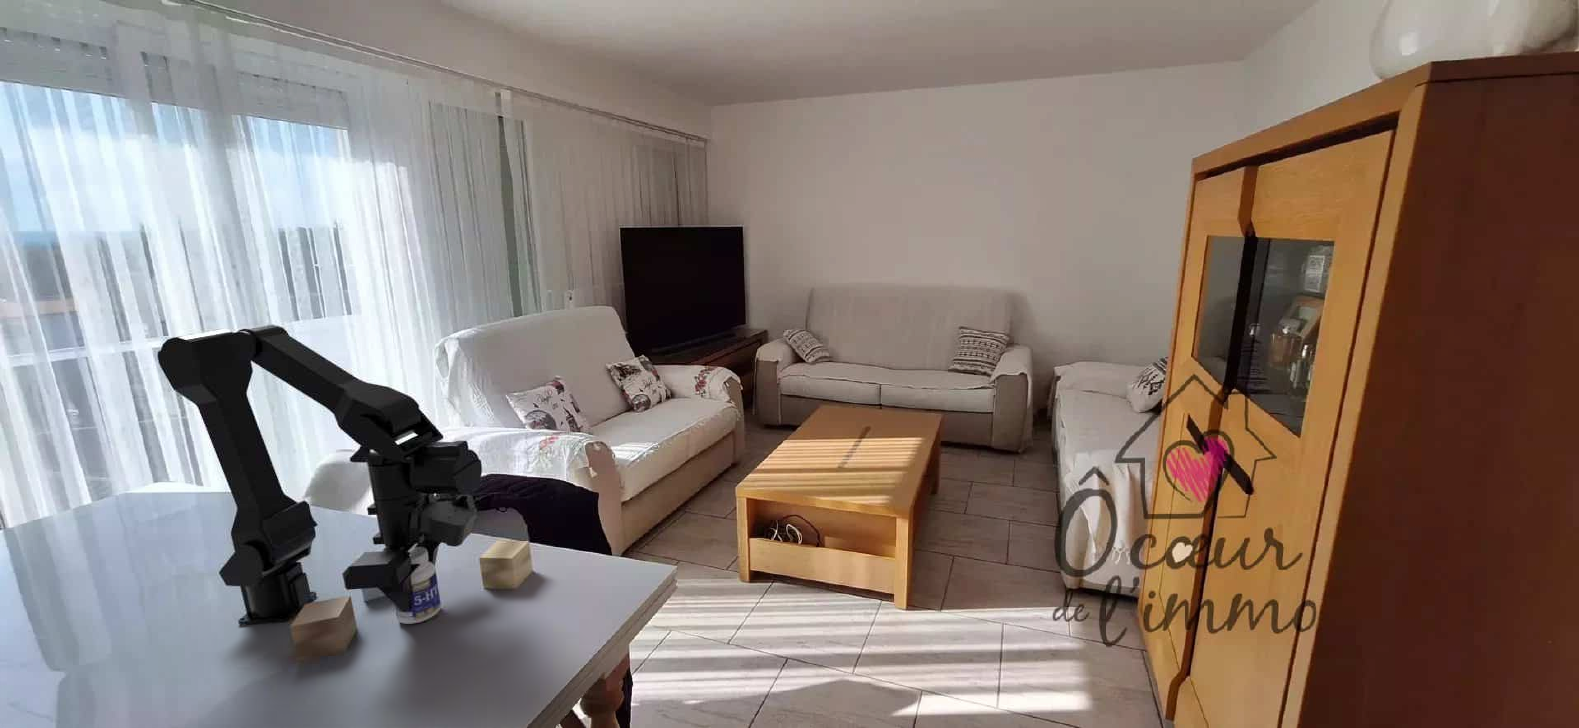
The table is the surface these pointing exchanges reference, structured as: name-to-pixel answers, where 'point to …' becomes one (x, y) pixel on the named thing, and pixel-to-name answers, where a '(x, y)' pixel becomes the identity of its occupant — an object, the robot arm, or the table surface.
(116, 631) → the table surface
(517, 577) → the oak block
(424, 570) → the pill bottle
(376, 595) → the slate block
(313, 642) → the walnut block
